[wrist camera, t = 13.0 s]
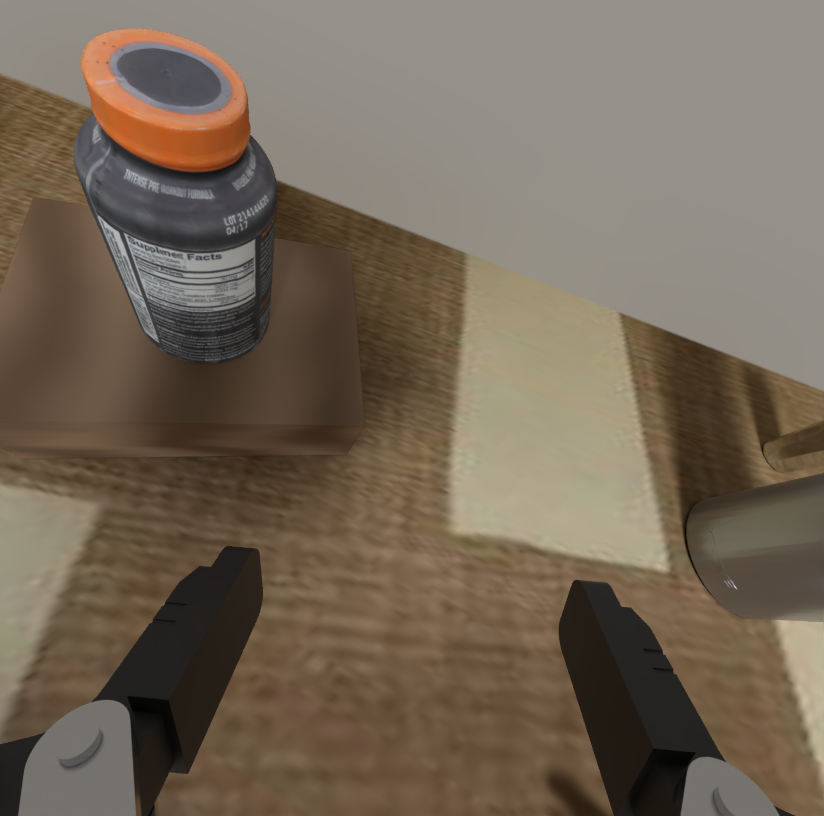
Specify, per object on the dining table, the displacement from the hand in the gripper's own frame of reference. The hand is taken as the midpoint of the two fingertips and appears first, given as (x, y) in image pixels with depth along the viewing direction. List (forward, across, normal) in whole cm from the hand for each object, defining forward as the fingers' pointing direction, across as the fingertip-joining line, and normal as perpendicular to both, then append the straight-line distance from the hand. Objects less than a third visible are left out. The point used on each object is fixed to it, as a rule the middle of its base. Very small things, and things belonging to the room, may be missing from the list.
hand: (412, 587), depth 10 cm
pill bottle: (+13, +11, -3) cm, 17 cm away
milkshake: (+29, -36, +10) cm, 47 cm away
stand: (+16, +13, 0) cm, 20 cm away
